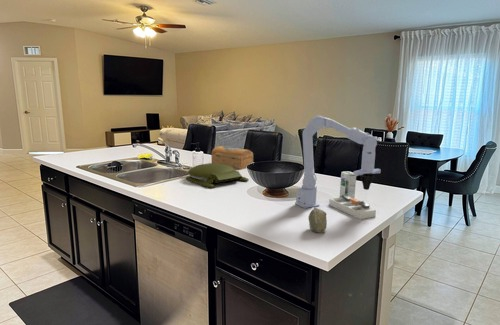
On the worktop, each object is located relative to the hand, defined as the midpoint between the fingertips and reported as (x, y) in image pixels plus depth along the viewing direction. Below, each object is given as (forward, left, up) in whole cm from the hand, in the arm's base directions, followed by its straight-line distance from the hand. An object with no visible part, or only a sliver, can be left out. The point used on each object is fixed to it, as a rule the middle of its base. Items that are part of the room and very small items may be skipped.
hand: (366, 189), depth 163 cm
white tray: (-7, +1, -10) cm, 12 cm away
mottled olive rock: (-36, -13, -10) cm, 40 cm away
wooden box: (-20, +121, -10) cm, 123 cm away
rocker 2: (-5, -5, -6) cm, 9 cm away
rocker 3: (-5, +7, -6) cm, 10 cm away
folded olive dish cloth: (-48, +84, -11) cm, 97 cm away
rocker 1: (-5, +1, -6) cm, 8 cm away
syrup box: (+3, +16, -10) cm, 19 cm away
